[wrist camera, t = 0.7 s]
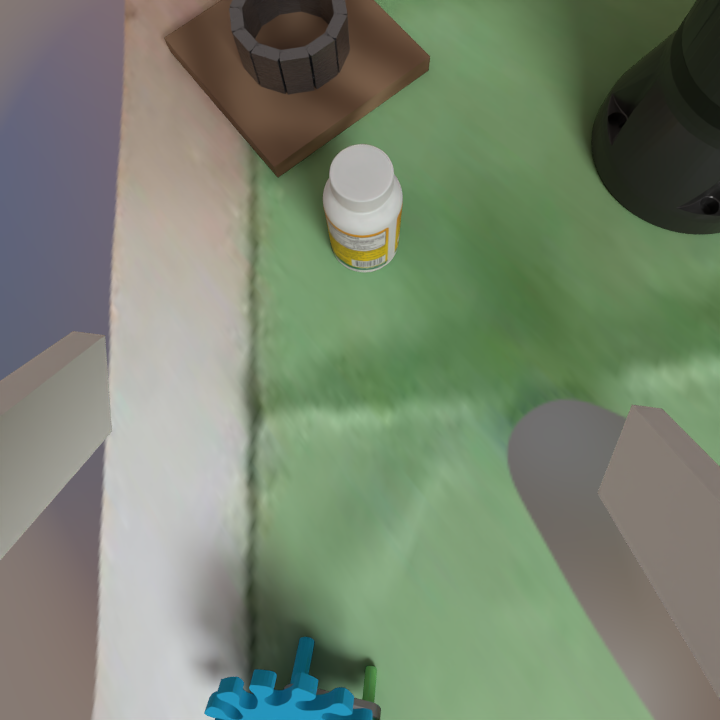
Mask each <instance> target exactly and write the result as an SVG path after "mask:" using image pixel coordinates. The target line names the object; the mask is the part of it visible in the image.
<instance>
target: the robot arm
mask: <svg viewBox="0 0 720 720" xmlns="http://www.w3.org/2000/svg"><path fill="white" fill-rule="evenodd" d="M592 152H593V158H594V162H595V165H596V168H597V170H598V173H599V175H600V177H601V179H602V181H603V182H604V184H605V186H606V187H607V188H608V190H609V191H610V192H611V194H612V195H613V196H614V197H615V198H616V199H617V200H618V201H619V202H620V203H621V204H622V205H623V206H624V207H625V208H627V209H628V210H629V211H630V212H632V213H633V214H635V215H636V216H638V217H639V218H641V219H643V220H645V221H647V222H649V223H651V224H653V225H655V226H658V227H661V228H664V229H667V230H670V231H675V232H679V233H686V234H713V233H720V0H696V2H695V4H694V5H693V7H692V8H691V10H690V12H689V13H688V15H687V16H686V18H685V19H684V21H683V22H682V24H681V25H680V27H679V28H678V30H676V31H675V32H674V33H673V34H671V35H670V36H669V37H668V38H667V39H665V40H664V41H663V42H662V43H660V44H659V45H658V46H657V47H655V48H654V49H653V50H652V51H651V52H649V53H648V54H647V55H646V56H644V57H643V58H642V59H641V60H639V61H638V62H637V63H636V64H635V65H633V66H632V67H631V68H630V69H628V70H627V71H626V72H625V73H624V74H623V75H622V77H621V78H620V79H619V80H618V81H617V82H616V84H615V85H614V86H613V88H612V89H611V91H610V93H609V94H608V96H607V98H606V99H605V101H604V103H603V104H602V106H601V108H600V110H599V112H598V114H597V116H596V119H595V122H594V126H593V131H592ZM111 432H112V425H111V412H110V399H109V385H108V372H107V358H106V346H105V336H104V335H98V334H90V333H83V332H74V331H73V332H71V333H70V334H69V335H67V336H66V337H64V338H63V339H61V340H60V341H58V342H57V343H55V344H54V345H52V346H51V347H49V348H48V349H46V350H45V351H43V352H42V353H41V354H39V355H38V356H36V357H35V358H33V359H32V360H30V361H29V362H27V363H26V364H25V365H23V366H21V367H20V368H19V369H17V370H16V371H14V372H13V373H11V374H10V375H8V376H7V377H5V378H4V379H2V380H1V381H0V560H1V559H2V558H3V557H4V555H5V554H6V553H7V552H8V551H9V550H10V548H11V547H12V546H13V545H14V544H15V543H16V541H17V540H18V539H19V538H20V537H21V536H22V534H23V533H24V532H25V531H26V530H27V529H28V528H29V527H30V525H31V524H32V523H33V522H34V521H35V520H36V518H37V517H38V516H39V515H40V514H41V513H42V512H43V510H44V509H45V508H46V507H47V506H48V505H49V503H50V502H51V501H52V500H53V499H54V498H55V497H56V495H57V494H58V493H59V492H60V491H61V490H62V488H63V487H64V486H65V485H66V484H67V483H68V481H69V480H70V479H71V478H72V477H73V475H75V473H76V472H77V471H78V470H79V469H80V468H81V466H82V465H83V464H84V463H85V462H86V461H87V460H88V458H89V457H90V456H91V455H92V454H93V453H94V451H95V450H96V449H97V448H98V447H99V446H100V444H101V443H102V442H103V441H104V440H105V439H106V438H107V436H108V435H109V434H110V433H111ZM598 495H599V496H600V498H601V500H602V502H603V503H604V505H605V507H606V508H607V510H608V512H609V513H610V515H611V517H612V518H613V520H614V522H615V524H616V525H617V527H618V529H619V530H620V532H621V534H622V535H623V537H624V539H625V541H626V542H627V544H628V546H629V547H630V549H631V551H632V552H633V554H634V556H635V557H636V559H637V561H638V562H639V564H640V566H641V567H642V569H643V571H644V573H645V574H646V576H647V577H648V579H649V581H650V582H651V584H652V586H653V588H654V590H655V591H656V593H657V595H658V596H659V598H660V599H661V601H662V603H663V605H664V606H665V608H666V610H667V611H668V613H669V615H670V617H671V618H672V620H673V621H674V623H675V625H676V627H677V628H678V630H679V632H680V633H681V635H682V637H683V638H684V640H685V642H686V643H687V645H688V647H689V649H690V650H691V652H692V654H693V655H694V657H695V659H696V660H697V662H698V664H699V666H700V667H701V669H702V671H703V672H704V674H705V676H706V677H707V679H708V681H709V682H710V684H711V686H712V687H713V689H714V691H715V692H716V694H717V696H718V698H719V699H720V467H719V466H718V465H717V464H716V463H715V461H714V460H713V459H712V458H711V457H710V456H709V455H708V454H707V453H706V452H705V451H704V450H703V449H702V448H701V447H700V446H699V445H698V444H697V443H696V442H695V441H694V440H693V439H692V438H691V437H690V436H689V435H688V434H687V433H686V432H685V431H684V430H683V429H682V428H681V427H680V426H679V425H678V424H677V423H676V422H675V421H674V420H673V419H672V418H671V417H670V416H669V415H668V414H667V413H666V412H665V411H664V410H663V409H661V408H653V407H646V406H638V405H632V406H631V409H630V411H629V414H628V416H627V419H626V421H625V424H624V427H623V429H622V432H621V434H620V437H619V439H618V442H617V444H616V447H615V449H614V453H613V455H612V457H611V460H610V462H609V465H608V467H607V470H606V473H605V475H604V478H603V480H602V483H601V485H600V488H599V490H598Z"/></svg>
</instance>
